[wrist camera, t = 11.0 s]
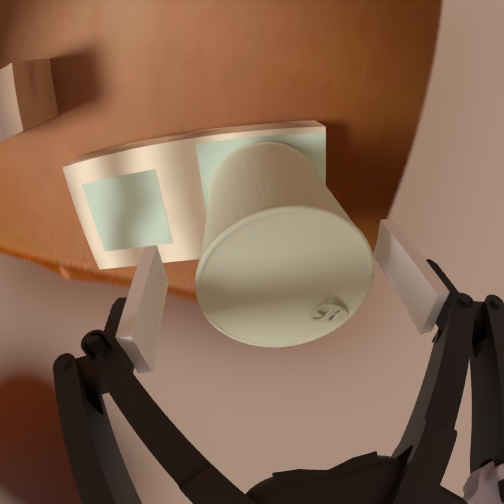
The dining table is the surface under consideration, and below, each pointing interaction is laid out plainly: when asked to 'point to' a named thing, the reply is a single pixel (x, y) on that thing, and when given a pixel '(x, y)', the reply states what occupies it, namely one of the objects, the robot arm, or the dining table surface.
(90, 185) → the board
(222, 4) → the dining table surface
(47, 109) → the cube
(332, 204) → the can
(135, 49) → the dining table surface
